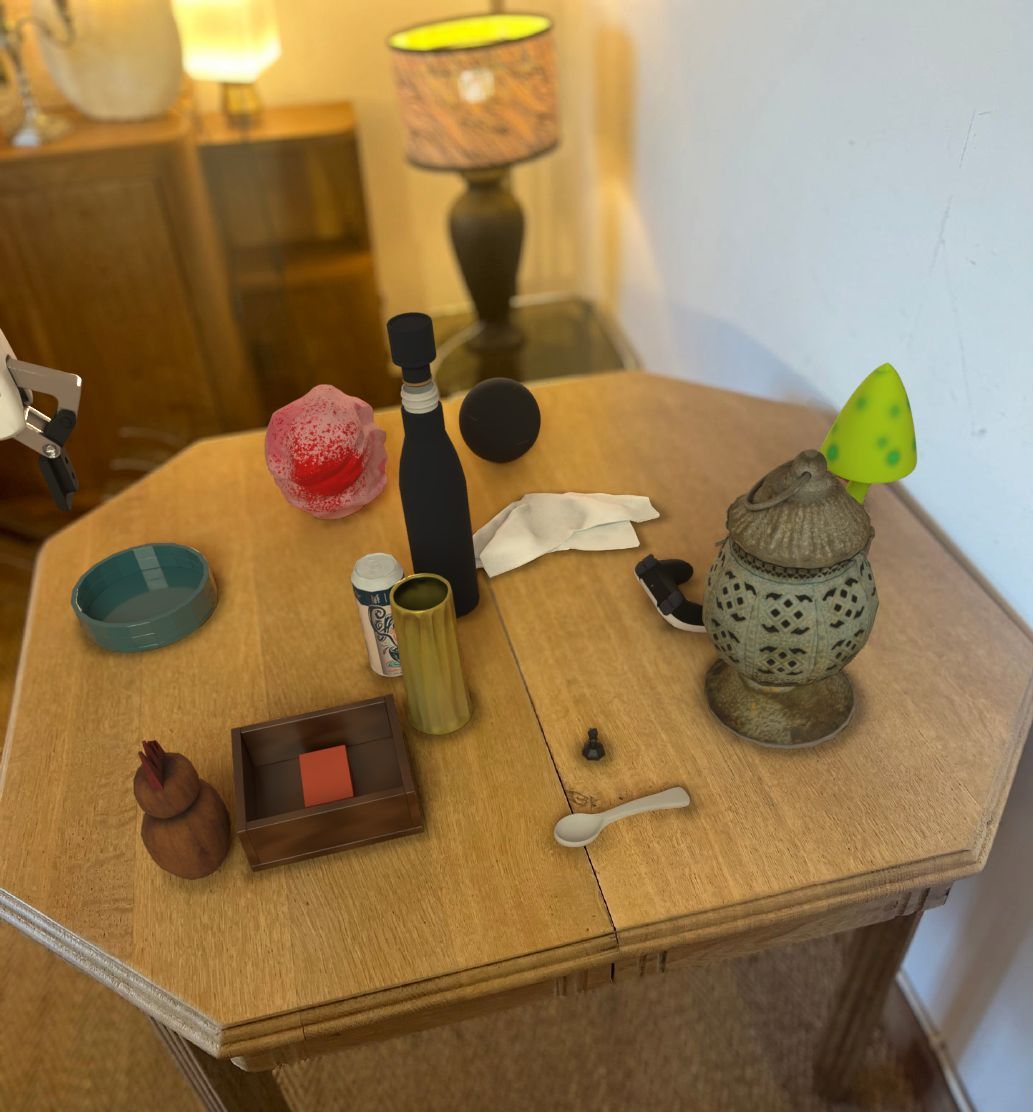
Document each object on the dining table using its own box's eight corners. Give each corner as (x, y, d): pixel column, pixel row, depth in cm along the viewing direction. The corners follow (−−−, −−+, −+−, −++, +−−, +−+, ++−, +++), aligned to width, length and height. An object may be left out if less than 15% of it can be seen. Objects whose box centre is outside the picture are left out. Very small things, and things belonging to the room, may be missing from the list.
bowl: (78, 665, 99) (65, 639, 97) (88, 582, 109) (76, 557, 107) (219, 636, 101) (210, 610, 99) (216, 557, 111) (207, 532, 109)
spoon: (547, 831, 80) (547, 815, 79) (676, 791, 83) (679, 776, 82) (561, 858, 78) (562, 843, 77) (693, 817, 81) (696, 801, 80)
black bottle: (406, 607, 102) (355, 328, 82) (444, 574, 106) (403, 300, 85) (455, 627, 100) (414, 344, 79) (491, 593, 103) (462, 313, 82)
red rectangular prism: (358, 814, 82) (353, 796, 80) (311, 825, 81) (305, 807, 80) (350, 762, 86) (345, 744, 84) (304, 773, 86) (298, 754, 84)
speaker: (456, 477, 120) (447, 402, 113) (470, 435, 127) (462, 362, 120) (537, 479, 118) (533, 403, 112) (546, 436, 126) (543, 362, 119)
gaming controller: (663, 593, 105) (619, 567, 100) (692, 562, 103) (648, 535, 99) (707, 656, 97) (661, 631, 93) (738, 624, 95) (694, 597, 91)
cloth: (638, 478, 117) (638, 461, 116) (676, 543, 107) (677, 526, 106) (424, 516, 114) (421, 500, 113) (443, 586, 105) (440, 569, 103)
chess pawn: (576, 753, 86) (576, 729, 84) (592, 740, 87) (591, 716, 85) (594, 764, 85) (593, 741, 83) (609, 751, 86) (609, 727, 84)
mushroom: (829, 632, 95) (879, 395, 78) (778, 585, 101) (815, 354, 84) (899, 606, 97) (963, 370, 80) (846, 561, 103) (895, 332, 86)
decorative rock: (409, 508, 106) (390, 365, 103) (275, 523, 103) (252, 376, 100) (390, 514, 124) (374, 392, 121) (276, 527, 121) (257, 402, 118)
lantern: (769, 775, 83) (812, 530, 66) (665, 681, 92) (678, 444, 75) (888, 706, 88) (957, 462, 70) (777, 623, 97) (814, 388, 79)
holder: (253, 872, 79) (235, 832, 76) (246, 769, 87) (230, 728, 84) (423, 832, 81) (415, 791, 77) (401, 734, 89) (392, 693, 86)
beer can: (393, 687, 94) (372, 589, 85) (361, 666, 96) (337, 568, 88) (429, 660, 96) (412, 562, 88) (397, 641, 99) (377, 543, 90)
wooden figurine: (219, 896, 78) (158, 772, 67) (152, 888, 79) (82, 765, 68) (250, 829, 82) (198, 703, 72) (186, 822, 83) (126, 697, 73)
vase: (468, 684, 93) (452, 564, 83) (477, 730, 89) (461, 609, 79) (405, 695, 93) (381, 575, 83) (411, 741, 89) (386, 621, 79)
